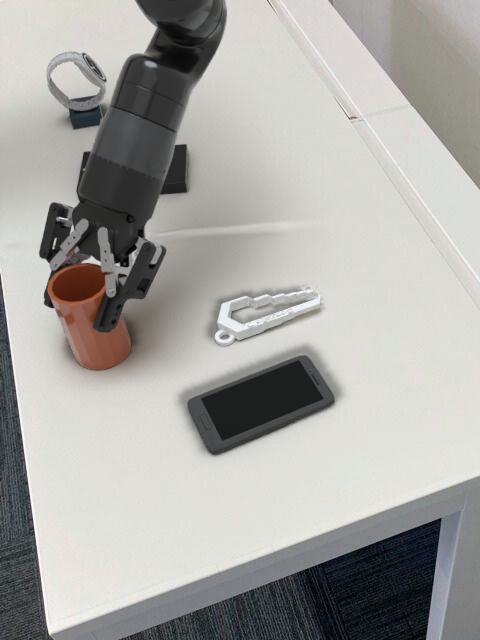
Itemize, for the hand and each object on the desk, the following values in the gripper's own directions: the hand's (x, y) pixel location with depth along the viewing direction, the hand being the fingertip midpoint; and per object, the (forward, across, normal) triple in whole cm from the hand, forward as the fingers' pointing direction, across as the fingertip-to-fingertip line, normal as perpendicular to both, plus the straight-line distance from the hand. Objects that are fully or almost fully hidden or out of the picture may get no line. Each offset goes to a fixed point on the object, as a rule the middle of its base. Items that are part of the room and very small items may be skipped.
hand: (76, 318), depth 79 cm
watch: (-20, +33, -29) cm, 48 cm away
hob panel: (-14, +17, -23) cm, 32 cm away
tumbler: (+3, 0, -6) cm, 7 cm away
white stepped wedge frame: (-6, -12, -15) cm, 21 cm away
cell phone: (+2, -20, -8) cm, 21 cm away
